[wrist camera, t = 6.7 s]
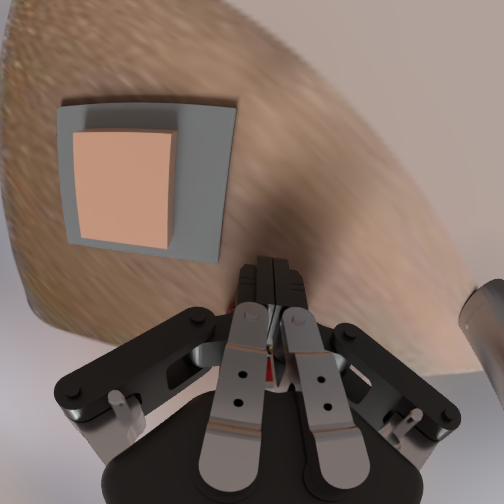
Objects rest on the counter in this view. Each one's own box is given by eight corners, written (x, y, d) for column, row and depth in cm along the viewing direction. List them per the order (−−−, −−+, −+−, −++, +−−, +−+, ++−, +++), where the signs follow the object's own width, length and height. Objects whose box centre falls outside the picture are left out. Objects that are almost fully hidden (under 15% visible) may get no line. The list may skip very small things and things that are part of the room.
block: (171, 134, 18) (72, 132, 17) (167, 249, 22) (81, 237, 22) (177, 130, 19) (84, 128, 19) (172, 238, 24) (90, 227, 23)
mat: (236, 108, 19) (236, 108, 19) (218, 260, 26) (217, 263, 25) (61, 106, 18) (57, 107, 18) (71, 240, 25) (68, 243, 24)
